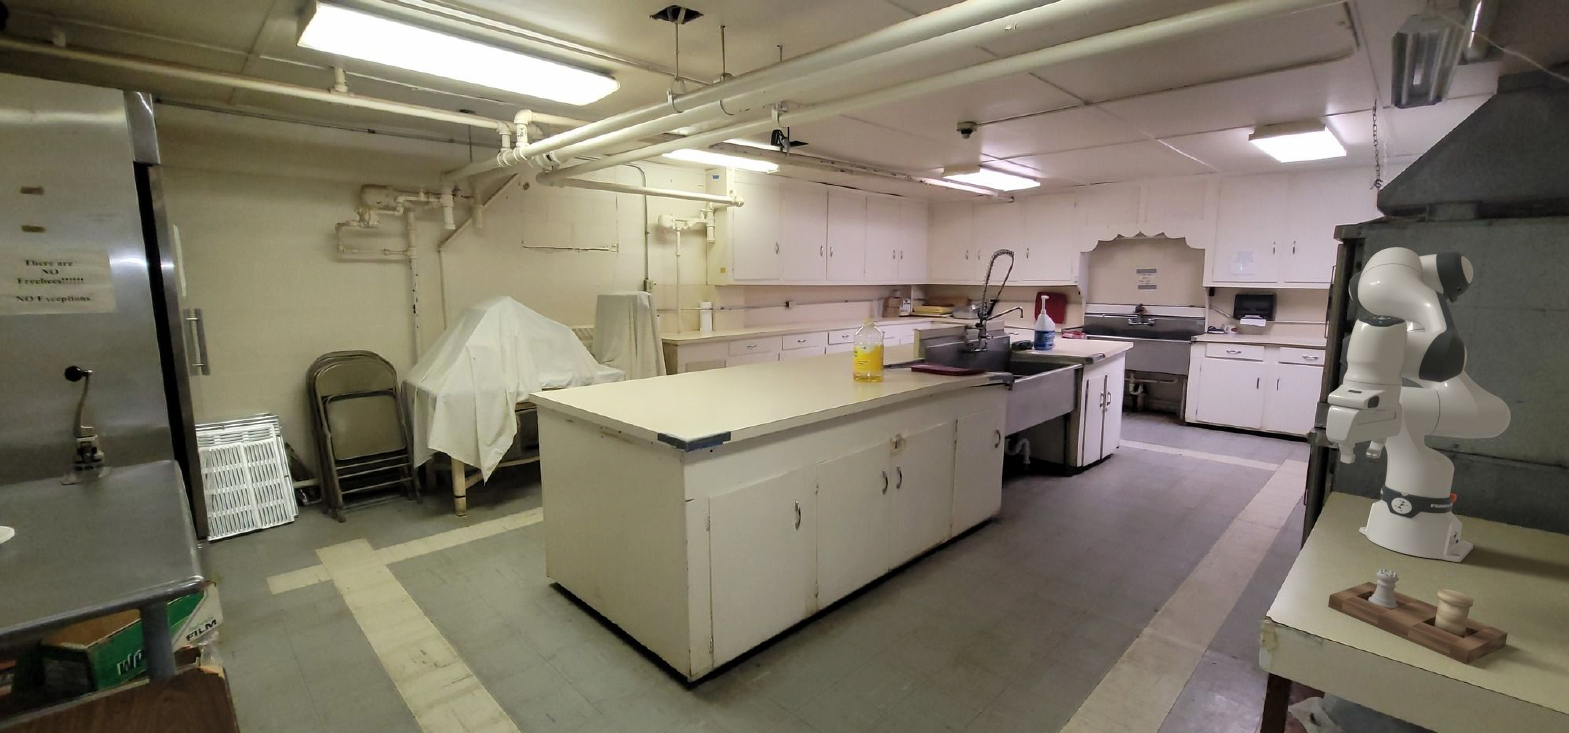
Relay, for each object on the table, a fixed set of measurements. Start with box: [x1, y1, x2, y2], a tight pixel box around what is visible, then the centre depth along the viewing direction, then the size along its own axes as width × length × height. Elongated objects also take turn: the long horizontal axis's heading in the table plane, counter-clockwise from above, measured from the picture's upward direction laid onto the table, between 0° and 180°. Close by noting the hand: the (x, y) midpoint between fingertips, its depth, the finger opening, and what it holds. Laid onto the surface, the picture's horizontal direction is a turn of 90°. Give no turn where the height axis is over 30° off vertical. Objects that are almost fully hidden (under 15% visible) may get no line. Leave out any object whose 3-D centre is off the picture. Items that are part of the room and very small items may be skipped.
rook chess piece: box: [1368, 568, 1400, 610], centre depth 122 cm, size 4×4×8 cm
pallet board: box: [1327, 581, 1509, 665], centre depth 118 cm, size 14×20×9 cm
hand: (1360, 460), depth 131 cm, fingers open, 8 cm apart
